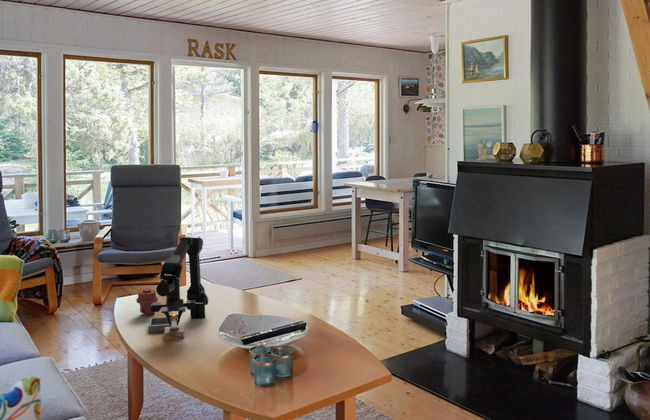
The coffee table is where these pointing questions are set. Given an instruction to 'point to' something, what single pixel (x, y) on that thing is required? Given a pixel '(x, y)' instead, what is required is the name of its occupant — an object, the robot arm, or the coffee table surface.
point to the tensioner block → (174, 333)
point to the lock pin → (174, 322)
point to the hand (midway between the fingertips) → (174, 325)
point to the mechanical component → (146, 301)
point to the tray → (158, 324)
